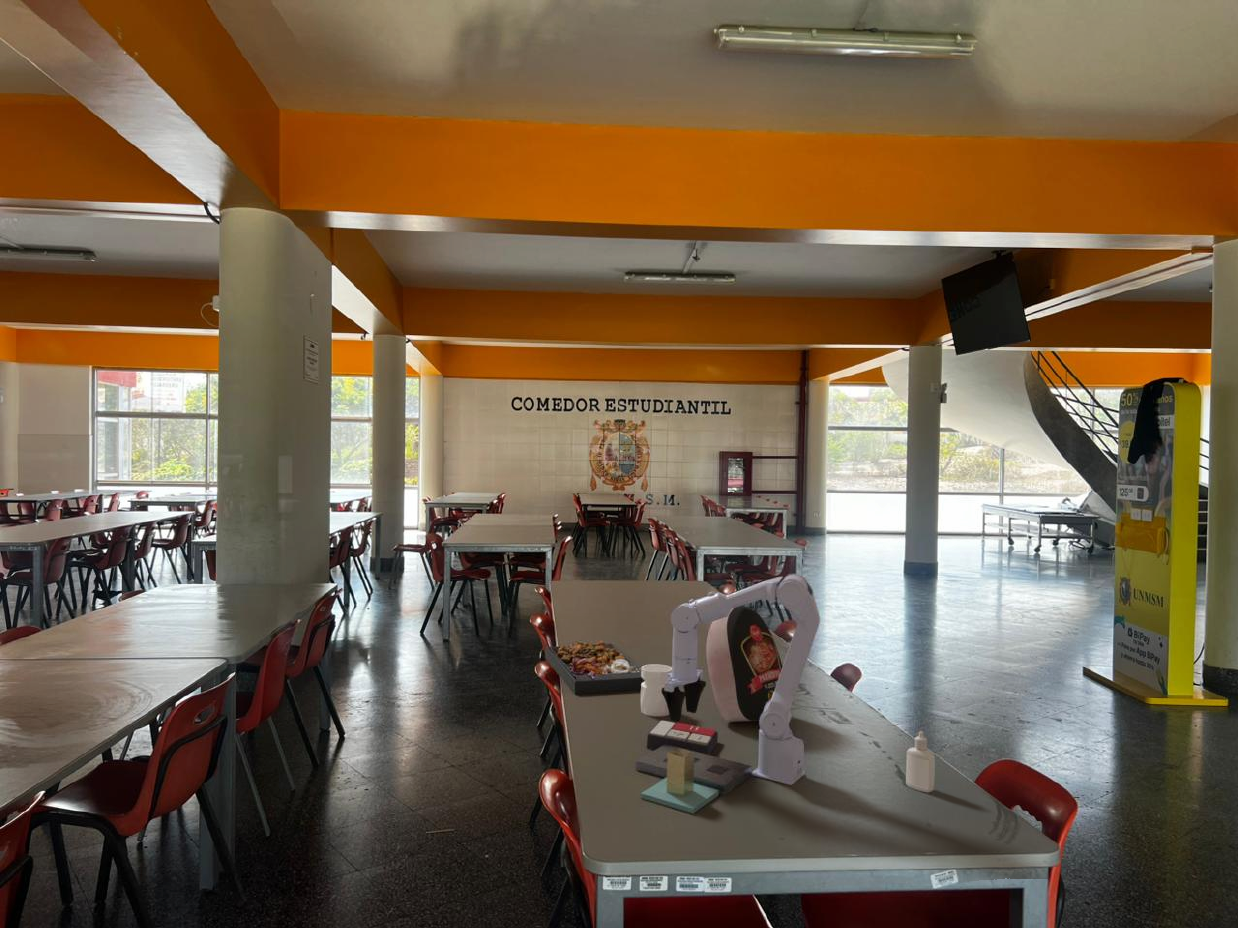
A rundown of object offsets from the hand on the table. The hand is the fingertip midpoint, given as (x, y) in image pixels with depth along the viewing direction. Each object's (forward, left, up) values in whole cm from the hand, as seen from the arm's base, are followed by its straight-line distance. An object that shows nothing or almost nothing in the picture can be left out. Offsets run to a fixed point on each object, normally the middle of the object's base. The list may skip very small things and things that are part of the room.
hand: (683, 716), depth 180 cm
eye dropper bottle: (-48, -18, -11) cm, 52 cm away
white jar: (+24, -28, -11) cm, 38 cm away
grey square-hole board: (-5, +4, -10) cm, 12 cm away
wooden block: (-9, +17, -9) cm, 21 cm away
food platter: (+61, -51, -11) cm, 80 cm away
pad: (-9, +17, -10) cm, 22 cm away
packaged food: (+2, -38, -11) cm, 40 cm away
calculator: (+5, -9, -11) cm, 15 cm away
